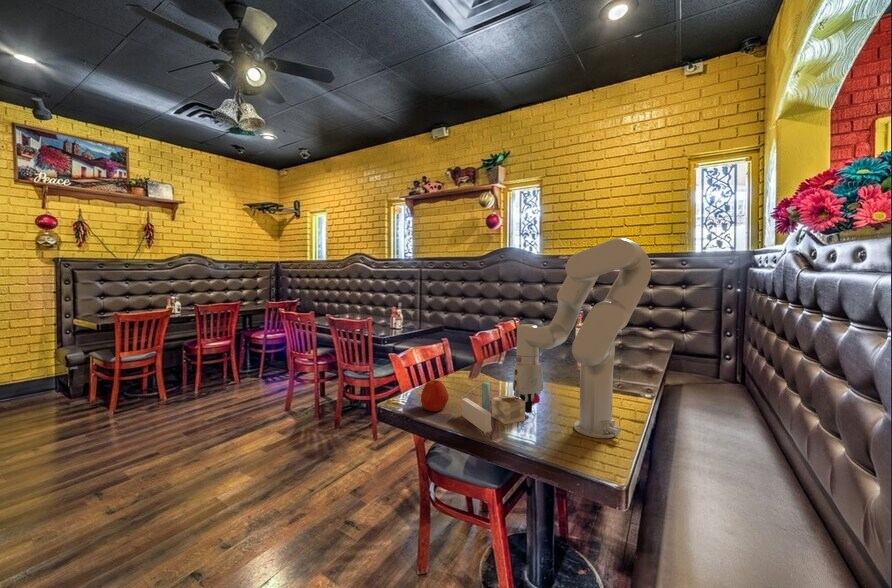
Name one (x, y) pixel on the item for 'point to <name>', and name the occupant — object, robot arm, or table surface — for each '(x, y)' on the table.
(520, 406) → the block
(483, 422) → the wall
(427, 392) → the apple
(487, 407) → the dowel
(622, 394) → the table surface
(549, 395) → the table surface
